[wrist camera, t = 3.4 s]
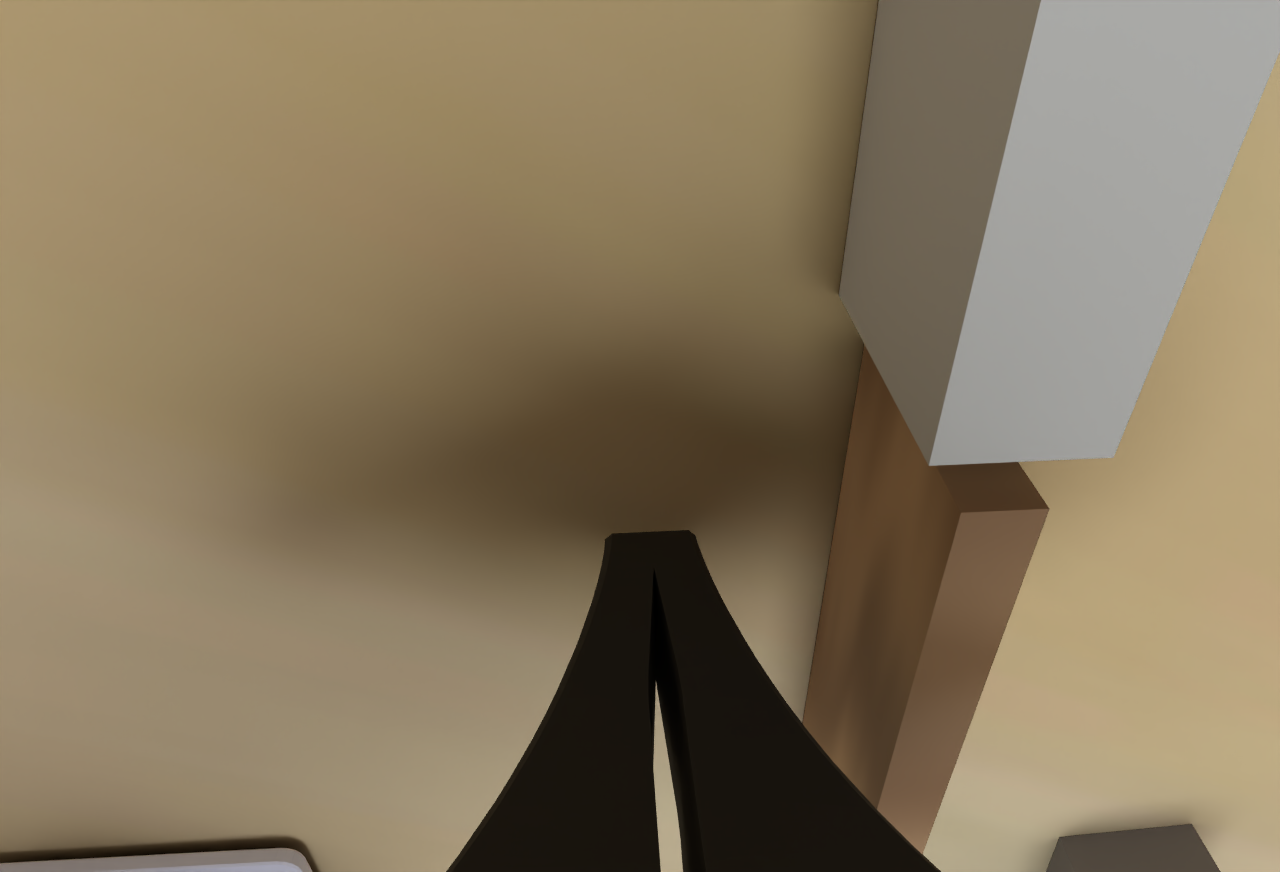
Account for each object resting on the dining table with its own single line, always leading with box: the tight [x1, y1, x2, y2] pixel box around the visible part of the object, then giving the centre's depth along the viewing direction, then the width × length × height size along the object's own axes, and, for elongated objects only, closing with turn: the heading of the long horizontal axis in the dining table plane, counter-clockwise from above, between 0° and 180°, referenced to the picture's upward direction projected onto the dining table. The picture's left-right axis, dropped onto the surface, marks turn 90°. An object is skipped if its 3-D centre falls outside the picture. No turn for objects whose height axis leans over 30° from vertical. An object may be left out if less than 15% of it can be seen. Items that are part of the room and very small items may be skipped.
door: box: [803, 344, 1049, 854], centre depth 14 cm, size 12×2×4 cm, turn 1°
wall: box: [839, 0, 1280, 466], centre depth 14 cm, size 26×2×4 cm, turn 1°
